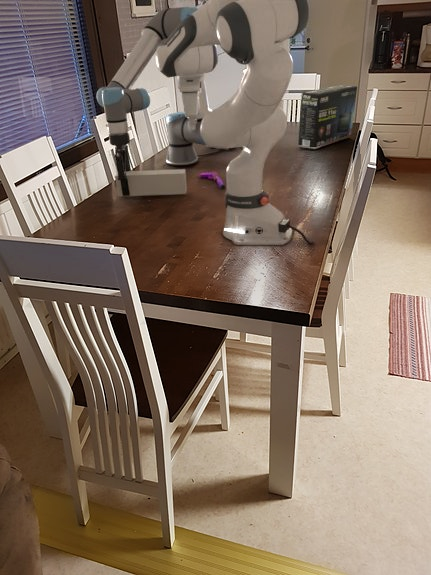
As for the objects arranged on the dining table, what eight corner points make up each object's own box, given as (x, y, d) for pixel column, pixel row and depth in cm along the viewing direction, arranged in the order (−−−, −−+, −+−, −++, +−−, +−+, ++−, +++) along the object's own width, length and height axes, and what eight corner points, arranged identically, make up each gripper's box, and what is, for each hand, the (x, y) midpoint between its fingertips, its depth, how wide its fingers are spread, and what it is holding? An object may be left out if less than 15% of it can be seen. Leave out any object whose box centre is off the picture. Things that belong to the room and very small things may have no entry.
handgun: (199, 176, 203) (199, 172, 202) (216, 174, 204) (216, 170, 203) (207, 191, 185) (207, 186, 184) (226, 189, 186) (225, 184, 185)
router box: (314, 151, 231) (318, 94, 217) (296, 148, 237) (299, 92, 224) (352, 138, 251) (358, 85, 238) (335, 135, 258) (340, 83, 245)
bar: (186, 189, 184) (185, 169, 180) (185, 194, 180) (184, 173, 175) (120, 191, 185) (117, 171, 181) (118, 196, 181) (114, 175, 176)
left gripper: (113, 127, 178) (122, 185, 191) (103, 139, 163) (113, 201, 175) (132, 126, 178) (140, 184, 190) (123, 138, 163) (133, 200, 175)
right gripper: (184, 78, 158) (186, 120, 165) (178, 87, 140) (182, 133, 147) (202, 78, 157) (204, 120, 165) (199, 86, 140) (201, 132, 147)
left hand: (127, 192), depth 183 cm, fingers closed on bar, 5 cm apart
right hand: (193, 126), depth 156 cm, fingers open, 8 cm apart
